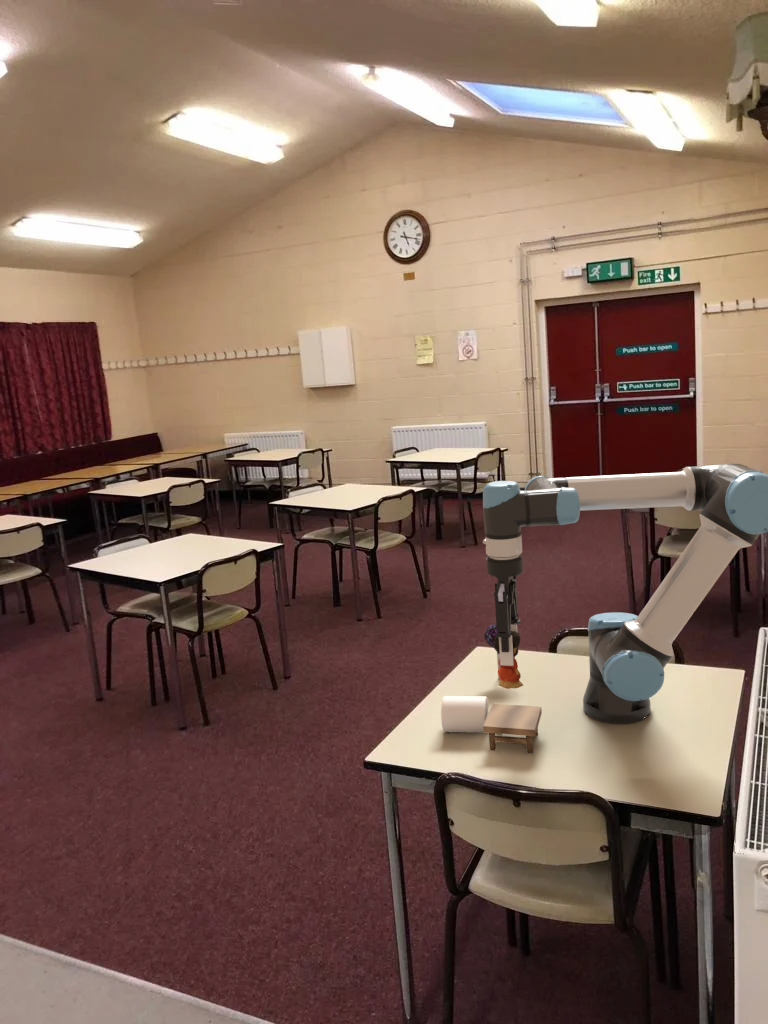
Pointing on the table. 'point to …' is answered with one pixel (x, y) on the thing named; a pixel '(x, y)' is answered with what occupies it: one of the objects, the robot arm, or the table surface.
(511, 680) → the figurine
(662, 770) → the table surface
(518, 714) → the tan legged square part
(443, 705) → the mug
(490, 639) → the lollipop
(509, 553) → the robot arm
